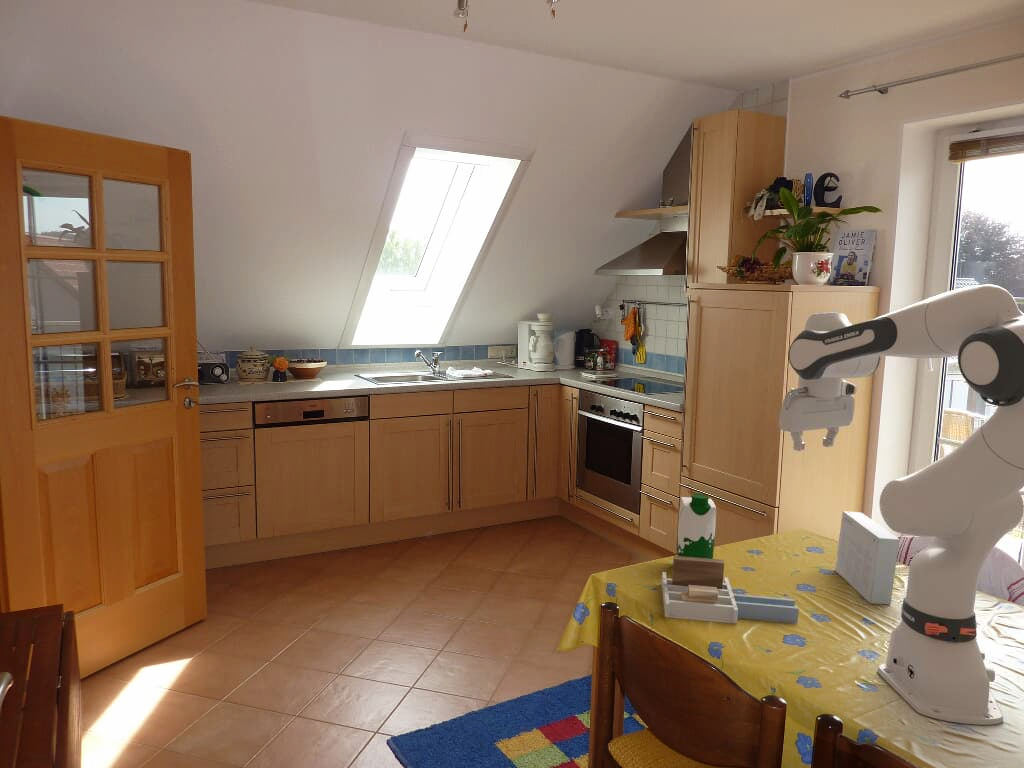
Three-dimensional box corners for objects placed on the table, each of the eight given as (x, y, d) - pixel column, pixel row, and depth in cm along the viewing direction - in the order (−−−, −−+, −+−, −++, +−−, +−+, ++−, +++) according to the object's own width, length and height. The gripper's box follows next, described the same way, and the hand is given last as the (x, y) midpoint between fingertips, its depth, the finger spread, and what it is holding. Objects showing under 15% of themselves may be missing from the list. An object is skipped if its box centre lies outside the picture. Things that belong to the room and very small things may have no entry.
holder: (797, 627, 166) (799, 609, 165) (734, 621, 168) (736, 604, 167) (792, 615, 172) (793, 598, 171) (731, 610, 174) (732, 592, 173)
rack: (736, 627, 165) (738, 610, 164) (664, 621, 167) (665, 603, 167) (726, 593, 183) (727, 577, 182) (661, 588, 185) (662, 571, 184)
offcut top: (717, 600, 167) (718, 592, 167) (689, 598, 168) (689, 590, 168) (716, 595, 170) (716, 587, 170) (688, 592, 171) (688, 584, 171)
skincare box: (893, 605, 179) (900, 539, 177) (869, 604, 179) (876, 538, 177) (855, 570, 200) (861, 510, 198) (834, 569, 200) (839, 510, 198)
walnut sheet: (721, 601, 176) (724, 563, 175) (671, 596, 177) (674, 558, 176) (720, 597, 178) (723, 559, 177) (671, 593, 179) (673, 555, 178)
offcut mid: (714, 608, 168) (715, 600, 167) (681, 605, 169) (681, 597, 168) (713, 602, 171) (713, 594, 170) (680, 599, 172) (681, 591, 171)
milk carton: (677, 576, 192) (683, 497, 189) (674, 563, 201) (678, 487, 198) (714, 578, 191) (719, 500, 189) (708, 565, 200) (714, 489, 197)
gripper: (798, 391, 162) (792, 456, 164) (862, 386, 172) (855, 447, 174) (774, 386, 168) (769, 449, 170) (837, 381, 178) (831, 441, 180)
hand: (813, 448), depth 172 cm, fingers open, 8 cm apart
